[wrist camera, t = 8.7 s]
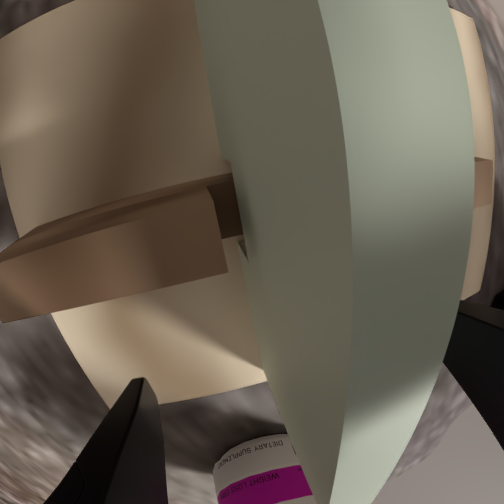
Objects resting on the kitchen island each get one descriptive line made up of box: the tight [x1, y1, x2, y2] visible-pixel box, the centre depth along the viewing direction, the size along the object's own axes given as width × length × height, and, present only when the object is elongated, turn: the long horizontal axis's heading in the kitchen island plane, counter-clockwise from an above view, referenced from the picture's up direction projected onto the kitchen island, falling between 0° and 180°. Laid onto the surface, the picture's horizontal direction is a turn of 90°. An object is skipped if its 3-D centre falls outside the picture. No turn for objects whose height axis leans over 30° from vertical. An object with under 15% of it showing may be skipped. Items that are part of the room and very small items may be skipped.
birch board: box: [0, 0, 495, 409], centre depth 11 cm, size 24×18×1 cm
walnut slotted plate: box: [0, 157, 493, 323], centre depth 8 cm, size 16×2×4 cm, turn 99°
